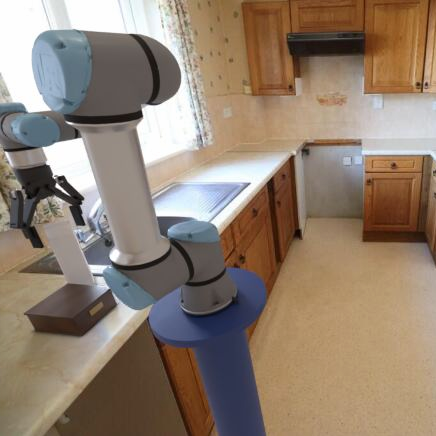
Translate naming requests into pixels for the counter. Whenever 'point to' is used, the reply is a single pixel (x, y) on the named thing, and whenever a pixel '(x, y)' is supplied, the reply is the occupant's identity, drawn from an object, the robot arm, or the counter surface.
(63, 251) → the milk
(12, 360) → the counter surface
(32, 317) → the walnut box
